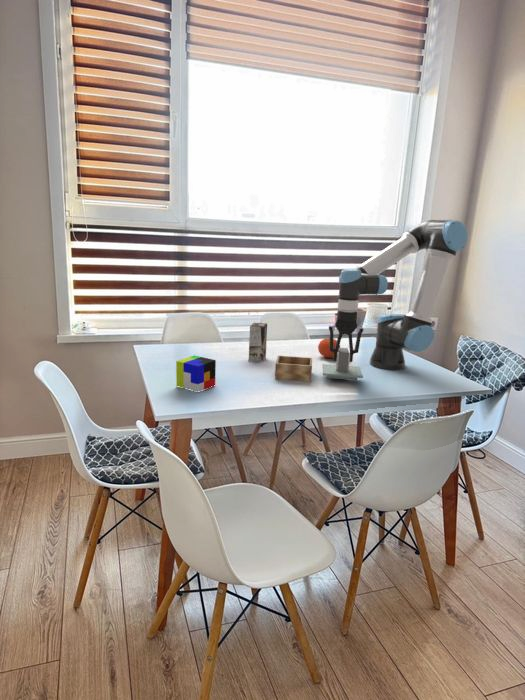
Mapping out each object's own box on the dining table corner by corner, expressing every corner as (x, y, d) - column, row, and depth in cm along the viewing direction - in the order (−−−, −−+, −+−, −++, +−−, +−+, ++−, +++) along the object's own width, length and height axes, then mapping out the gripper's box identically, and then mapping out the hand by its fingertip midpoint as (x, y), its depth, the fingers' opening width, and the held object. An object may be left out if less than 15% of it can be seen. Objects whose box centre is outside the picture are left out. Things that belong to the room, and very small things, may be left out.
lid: (359, 371, 190) (361, 347, 188) (362, 381, 178) (365, 355, 175) (322, 369, 192) (324, 344, 189) (322, 378, 179) (324, 353, 177)
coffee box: (262, 363, 205) (263, 327, 201) (248, 361, 206) (249, 325, 202) (266, 357, 214) (267, 323, 210) (252, 356, 215) (253, 322, 211)
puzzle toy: (197, 393, 165) (198, 366, 163) (176, 387, 170) (176, 361, 168) (215, 386, 174) (215, 360, 171) (194, 380, 179) (194, 355, 176)
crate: (310, 374, 192) (312, 357, 191) (310, 383, 181) (312, 366, 179) (277, 371, 194) (277, 355, 192) (274, 380, 182) (275, 363, 180)
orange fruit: (339, 355, 223) (341, 335, 220) (339, 361, 213) (341, 340, 210) (318, 353, 224) (319, 333, 222) (316, 359, 215) (318, 338, 212)
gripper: (368, 310, 181) (362, 368, 187) (325, 307, 183) (320, 365, 189) (370, 313, 174) (364, 373, 180) (325, 310, 175) (321, 370, 181)
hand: (342, 369), depth 184 cm, fingers closed on lid, 3 cm apart
